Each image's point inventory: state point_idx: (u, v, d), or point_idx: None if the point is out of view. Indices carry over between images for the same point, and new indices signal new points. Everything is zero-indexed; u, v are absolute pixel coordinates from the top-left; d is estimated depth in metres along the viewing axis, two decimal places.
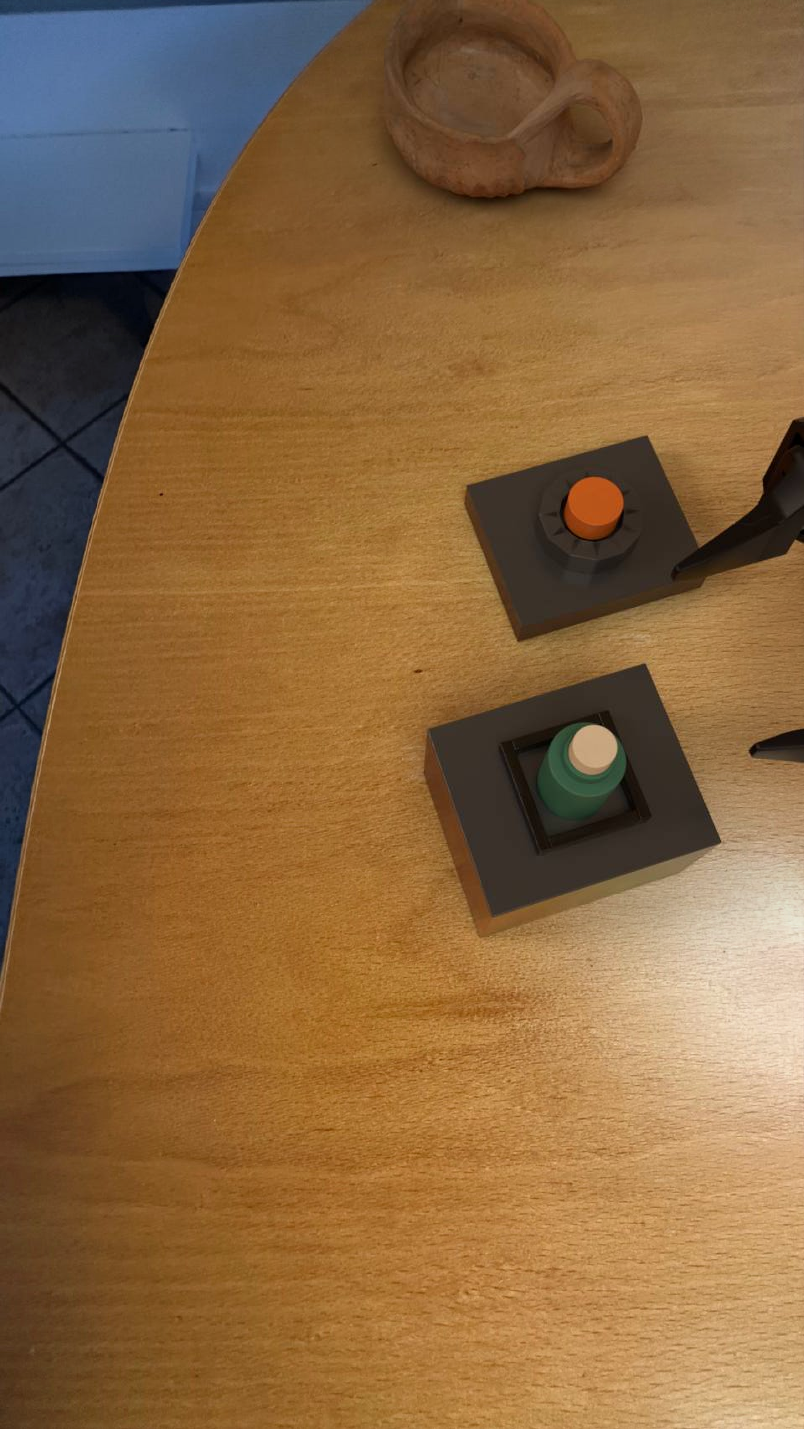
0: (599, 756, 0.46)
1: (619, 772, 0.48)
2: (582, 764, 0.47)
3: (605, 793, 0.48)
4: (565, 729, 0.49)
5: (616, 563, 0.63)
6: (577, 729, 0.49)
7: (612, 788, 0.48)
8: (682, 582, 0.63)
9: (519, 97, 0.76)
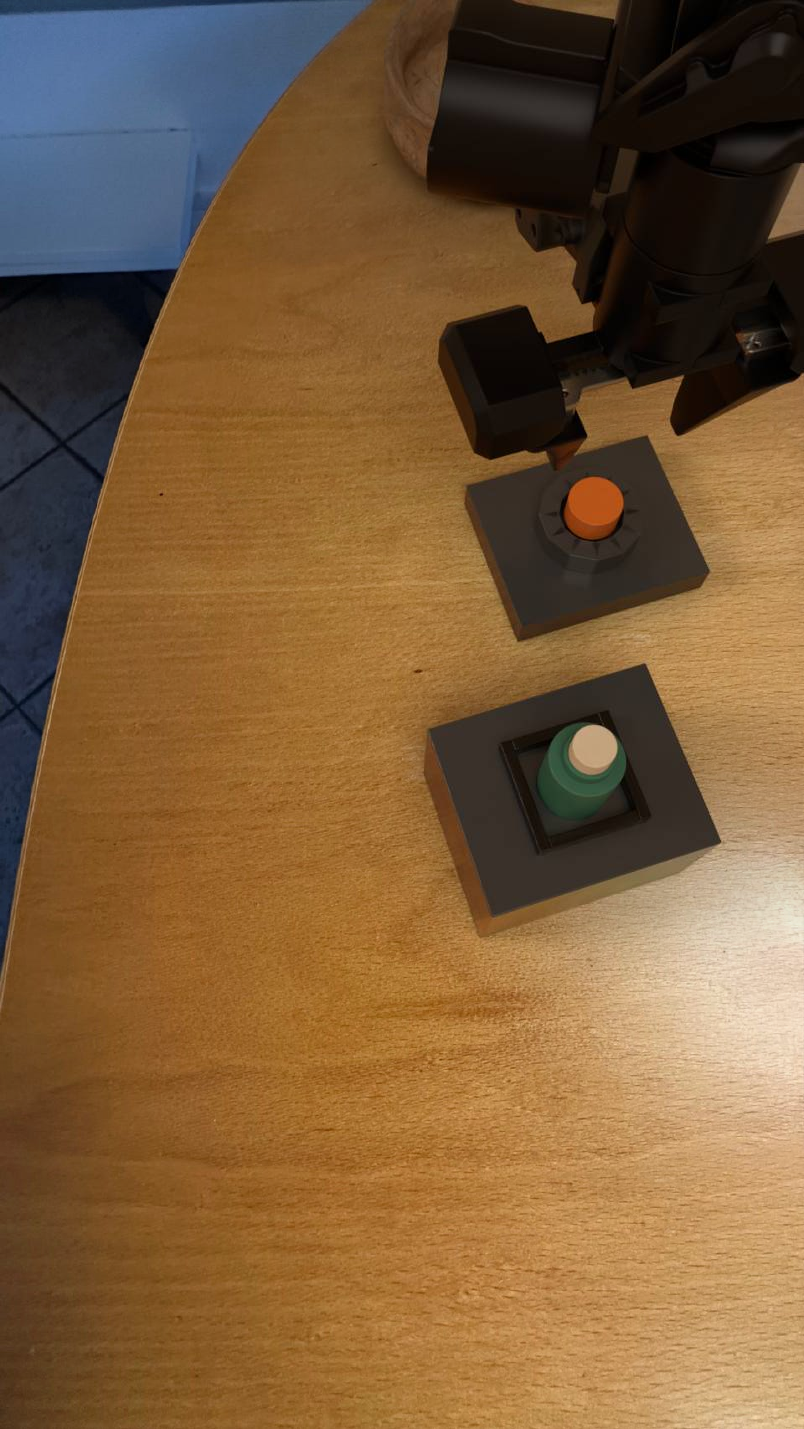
0: (599, 756, 0.46)
1: (619, 772, 0.48)
2: (582, 764, 0.47)
3: (605, 793, 0.48)
4: (565, 729, 0.49)
5: (616, 563, 0.63)
6: (577, 729, 0.49)
7: (612, 788, 0.48)
8: (682, 582, 0.63)
9: None
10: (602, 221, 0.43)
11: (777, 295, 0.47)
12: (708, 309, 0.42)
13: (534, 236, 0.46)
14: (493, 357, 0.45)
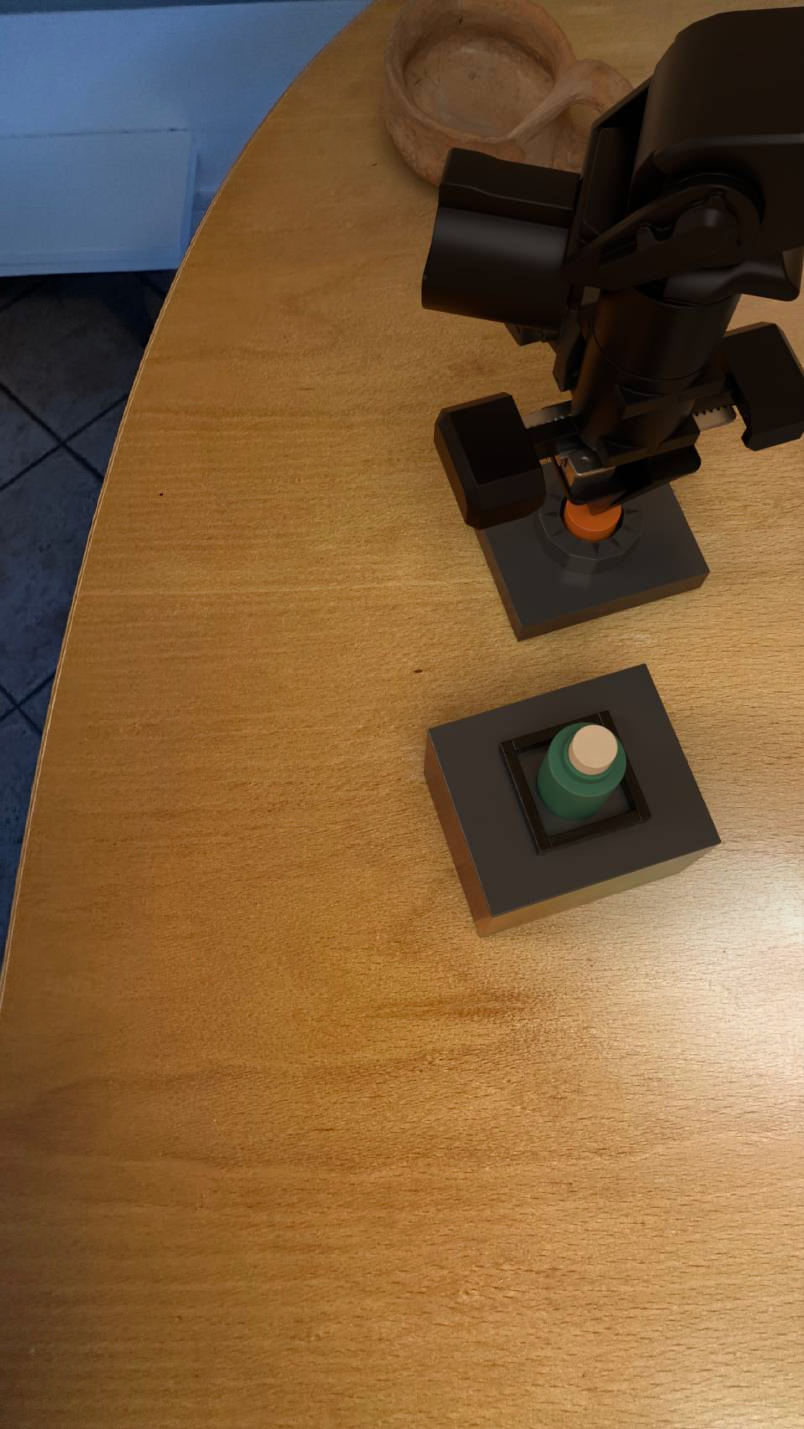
0: (599, 756, 0.46)
1: (619, 772, 0.48)
2: (582, 764, 0.47)
3: (605, 793, 0.48)
4: (565, 729, 0.49)
5: (616, 563, 0.63)
6: (577, 729, 0.49)
7: (612, 788, 0.48)
8: (682, 582, 0.63)
9: (519, 97, 0.76)
10: (576, 325, 0.50)
11: (734, 384, 0.53)
12: (668, 405, 0.48)
13: (518, 333, 0.52)
14: (481, 441, 0.51)
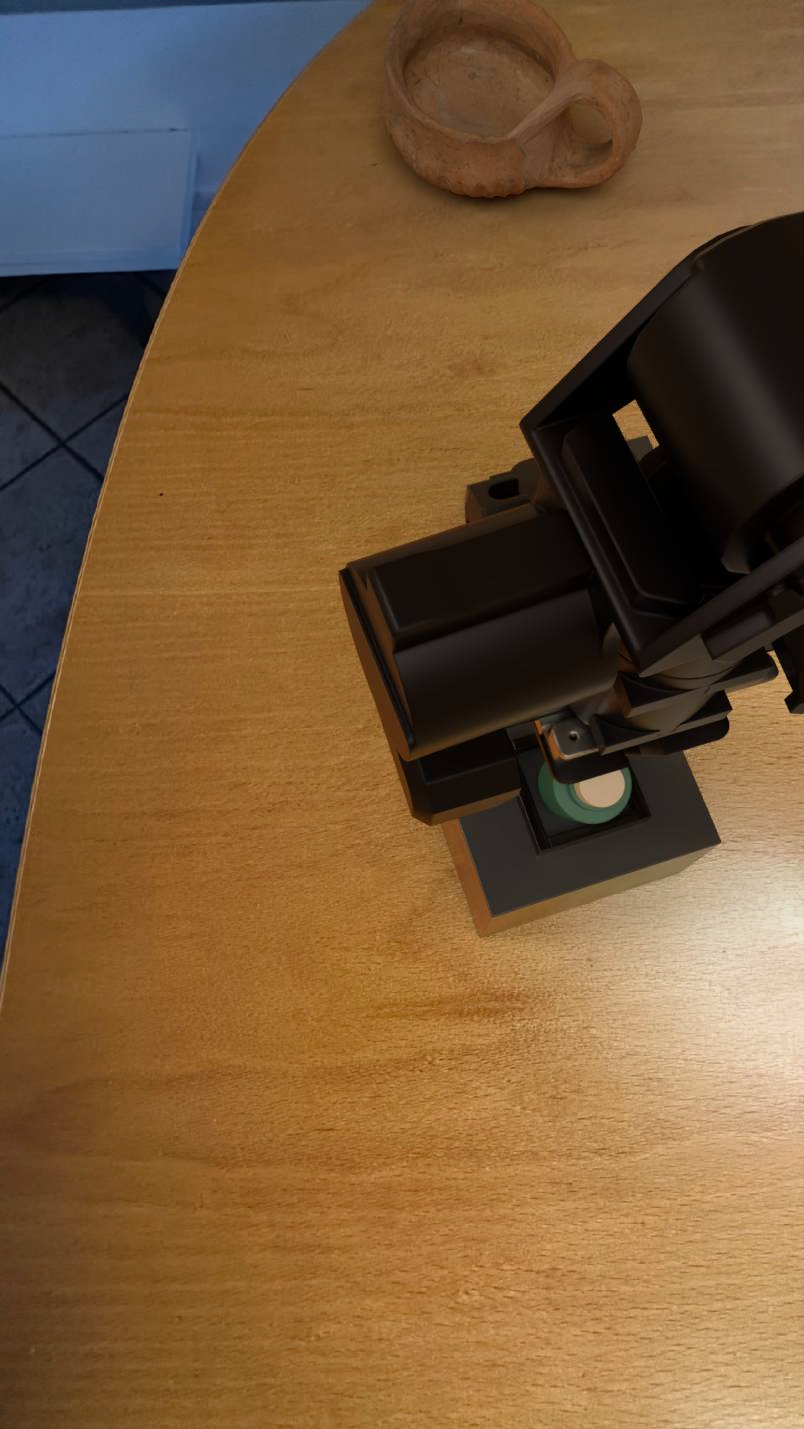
0: (606, 795, 0.46)
1: (624, 798, 0.48)
2: (588, 803, 0.46)
3: (608, 819, 0.48)
4: None
5: None
6: None
7: (616, 814, 0.48)
8: None
9: (519, 97, 0.76)
10: None
11: None
12: (692, 698, 0.34)
13: None
14: None
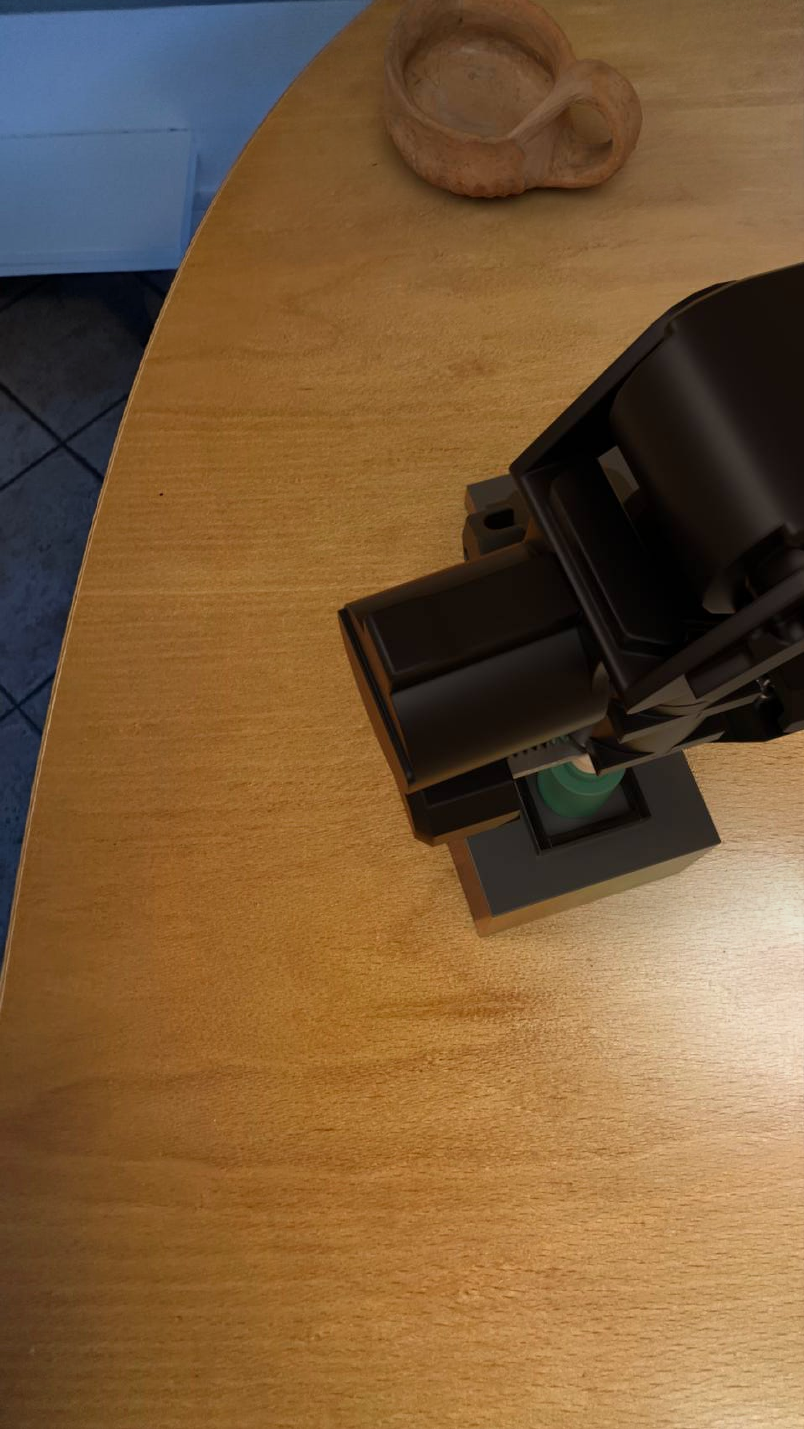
0: None
1: (618, 773, 0.48)
2: (581, 762, 0.47)
3: (603, 793, 0.48)
4: None
5: None
6: None
7: (610, 788, 0.48)
8: None
9: (519, 97, 0.76)
10: None
11: None
12: (683, 722, 0.35)
13: None
14: None
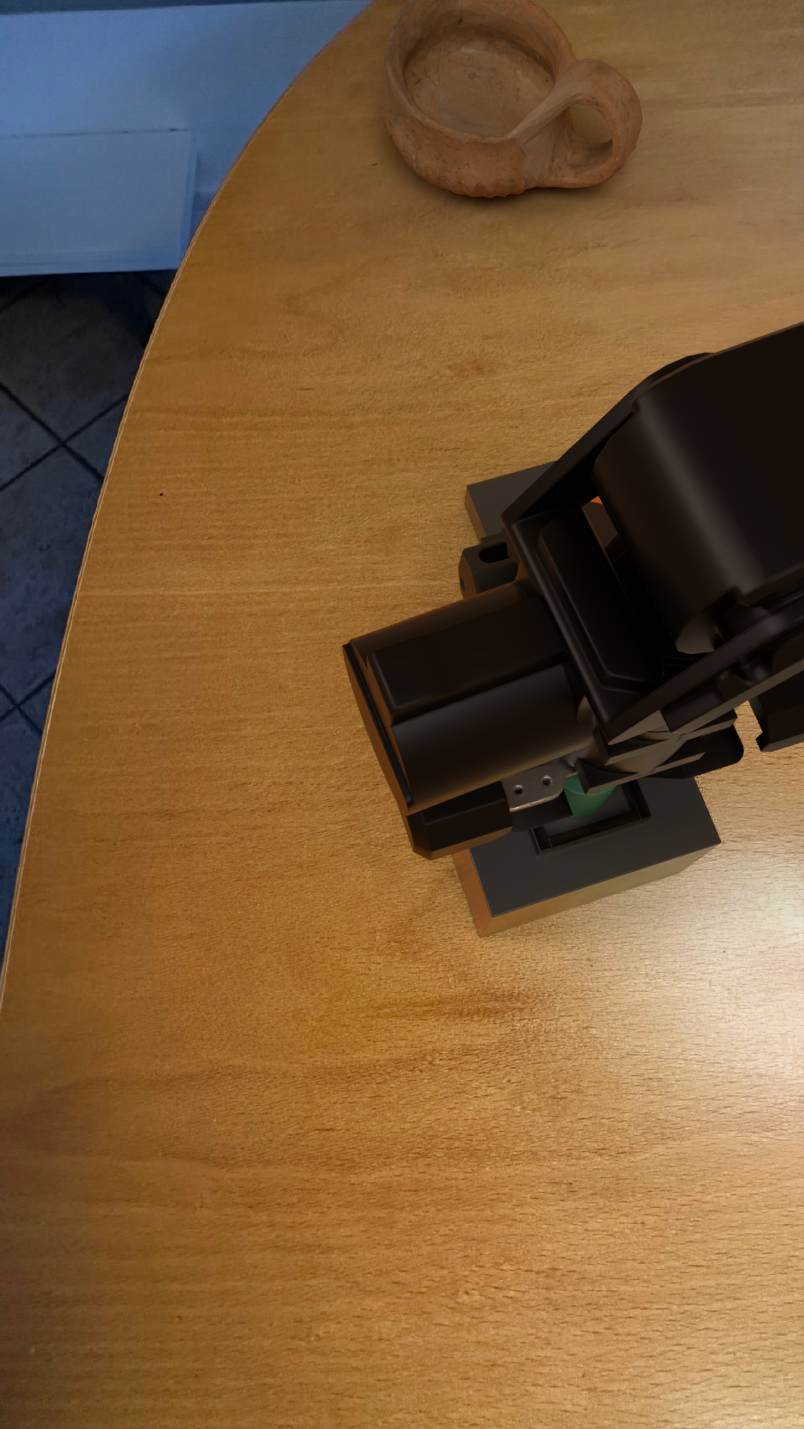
0: None
1: None
2: None
3: (603, 793, 0.48)
4: None
5: None
6: None
7: (610, 788, 0.48)
8: None
9: (519, 97, 0.76)
10: None
11: None
12: (665, 746, 0.38)
13: None
14: None
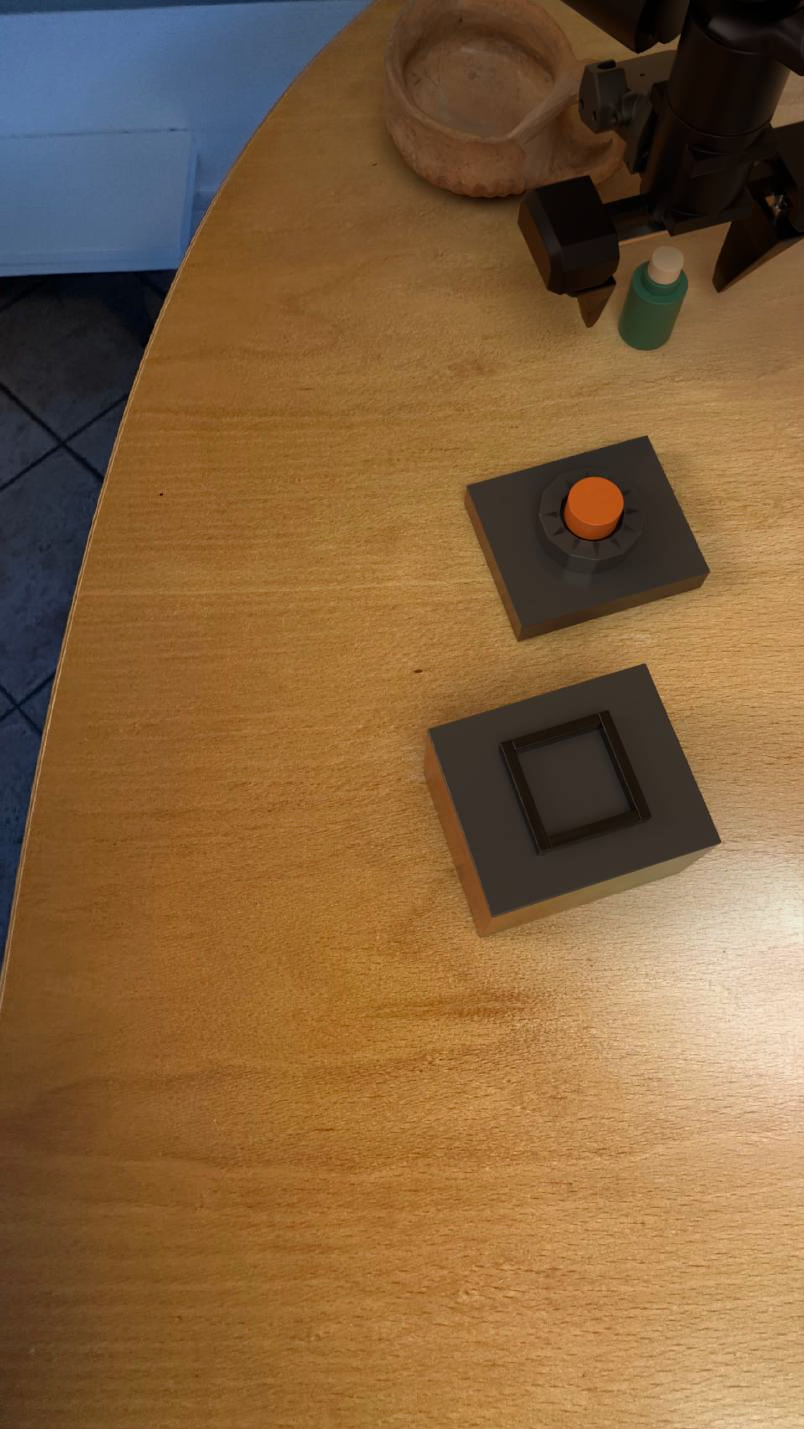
0: (670, 264, 0.65)
1: (682, 290, 0.67)
2: (658, 269, 0.65)
3: (671, 303, 0.67)
4: (645, 262, 0.68)
5: (616, 563, 0.63)
6: None
7: (677, 300, 0.67)
8: (682, 582, 0.63)
9: (519, 97, 0.76)
10: (649, 103, 0.57)
11: (782, 167, 0.60)
12: (730, 166, 0.55)
13: (594, 121, 0.60)
14: (564, 212, 0.59)
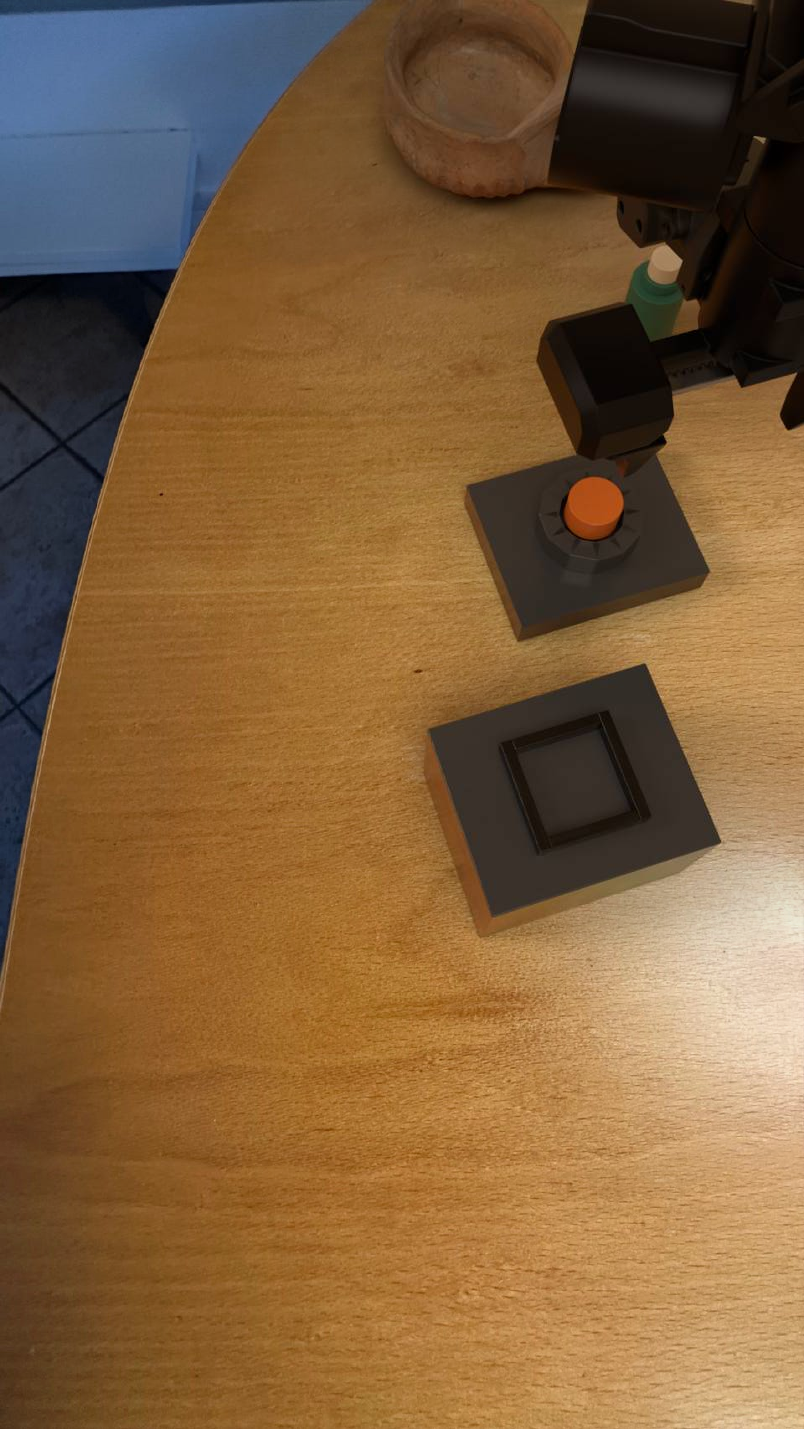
0: (670, 264, 0.65)
1: None
2: (658, 269, 0.65)
3: (671, 303, 0.67)
4: (645, 262, 0.68)
5: (616, 563, 0.63)
6: None
7: (677, 300, 0.67)
8: (682, 582, 0.63)
9: (519, 97, 0.76)
10: (715, 216, 0.42)
11: None
12: None
13: (638, 232, 0.45)
14: (599, 355, 0.44)
